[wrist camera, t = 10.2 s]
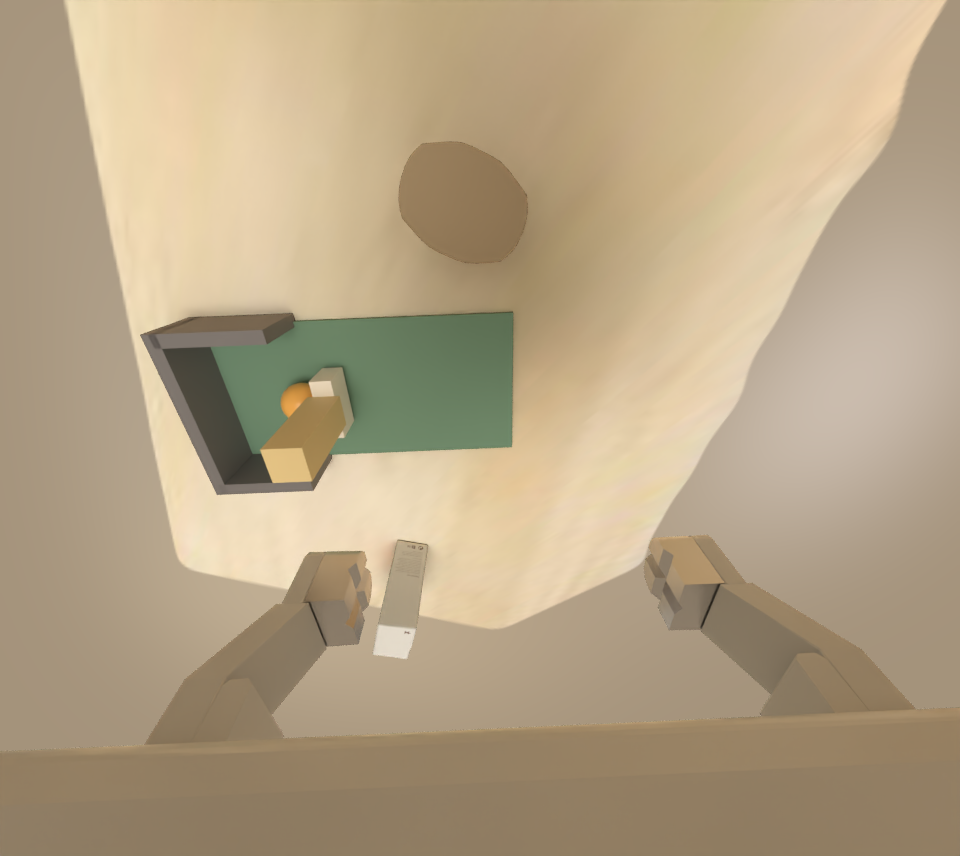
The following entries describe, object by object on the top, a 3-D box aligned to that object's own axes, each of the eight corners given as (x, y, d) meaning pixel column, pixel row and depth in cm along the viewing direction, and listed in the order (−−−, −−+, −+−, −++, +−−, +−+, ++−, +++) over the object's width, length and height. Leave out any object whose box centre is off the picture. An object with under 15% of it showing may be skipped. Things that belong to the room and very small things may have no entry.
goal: (188, 317, 35) (140, 334, 30) (292, 313, 35) (262, 330, 30) (247, 461, 43) (217, 494, 38) (332, 457, 44) (313, 490, 38)
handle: (490, 255, 33) (503, 280, 20) (421, 225, 32) (387, 230, 19) (512, 196, 31) (543, 181, 18) (439, 161, 30) (415, 118, 17)
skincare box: (396, 538, 50) (377, 623, 40) (428, 543, 51) (417, 628, 40) (390, 569, 53) (371, 656, 42) (420, 573, 54) (408, 660, 43)
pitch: (187, 325, 36) (184, 326, 35) (512, 312, 36) (513, 312, 36) (241, 456, 43) (240, 458, 43) (511, 445, 43) (511, 447, 43)
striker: (317, 368, 37) (253, 431, 26) (347, 367, 37) (296, 429, 26) (330, 421, 40) (278, 498, 29) (358, 420, 40) (317, 496, 29)
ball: (267, 385, 36) (286, 396, 34) (307, 373, 39) (327, 382, 37) (280, 422, 38) (298, 434, 36) (316, 408, 41) (336, 418, 39)
